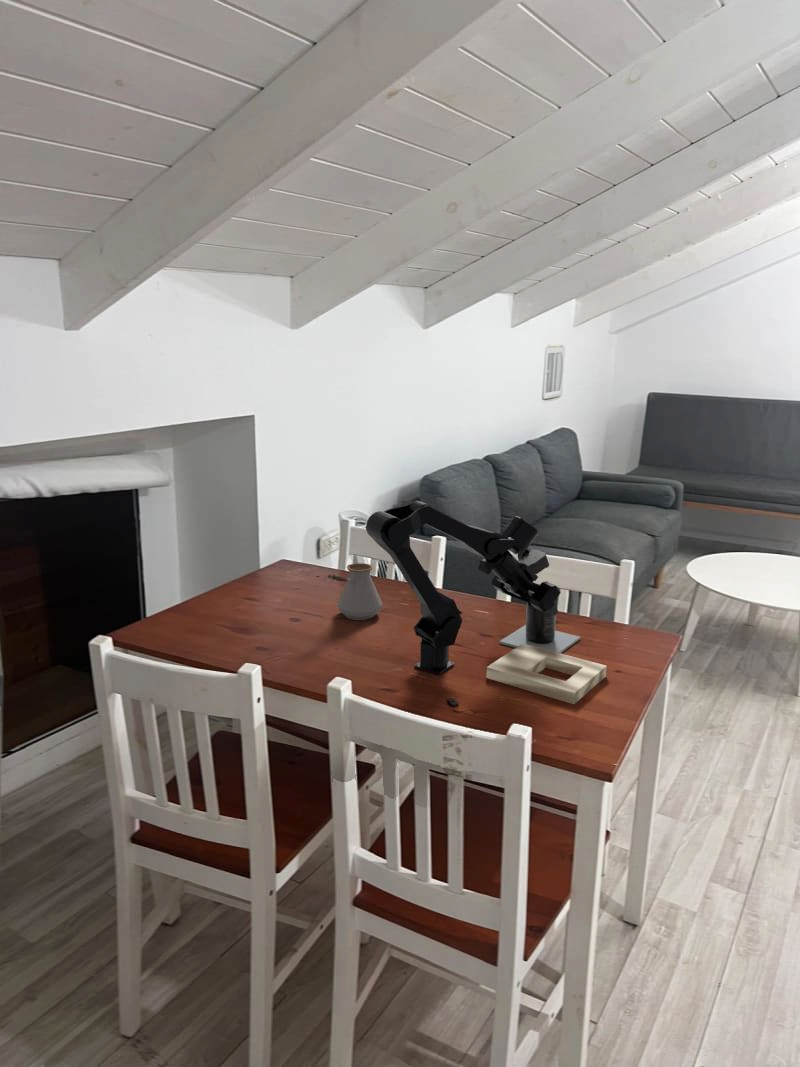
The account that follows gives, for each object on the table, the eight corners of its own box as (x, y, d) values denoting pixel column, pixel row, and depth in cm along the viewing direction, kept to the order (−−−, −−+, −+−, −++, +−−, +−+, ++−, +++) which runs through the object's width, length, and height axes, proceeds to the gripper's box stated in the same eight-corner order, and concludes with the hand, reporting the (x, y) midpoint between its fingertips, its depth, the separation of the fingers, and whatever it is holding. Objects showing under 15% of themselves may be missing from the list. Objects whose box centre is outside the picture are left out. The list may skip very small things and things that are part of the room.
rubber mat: (554, 658, 181) (554, 655, 181) (499, 643, 189) (499, 641, 189) (580, 639, 192) (580, 636, 192) (527, 625, 200) (527, 623, 200)
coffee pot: (351, 604, 214) (351, 550, 210) (390, 611, 209) (390, 555, 205) (307, 631, 195) (306, 572, 192) (349, 639, 191) (348, 579, 187)
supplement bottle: (551, 633, 194) (554, 586, 190) (557, 644, 187) (560, 595, 184) (522, 633, 193) (525, 586, 190) (527, 644, 187) (530, 595, 184)
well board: (574, 704, 160) (574, 692, 159) (486, 677, 171) (486, 666, 170) (605, 676, 172) (606, 665, 171) (522, 653, 183) (522, 643, 183)
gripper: (556, 551, 174) (591, 592, 182) (504, 531, 189) (538, 570, 198) (525, 591, 172) (562, 631, 180) (475, 568, 188) (511, 605, 196)
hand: (543, 607), depth 188 cm, fingers open, 9 cm apart
